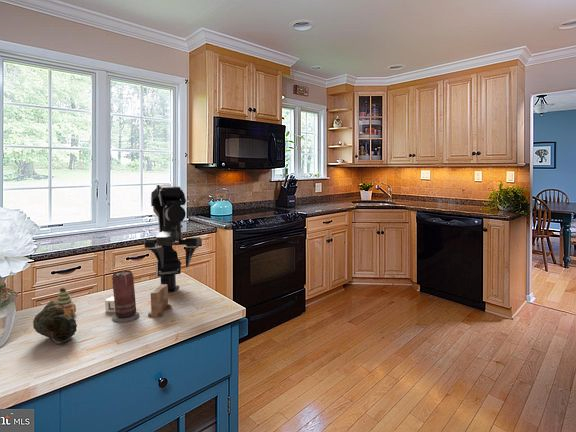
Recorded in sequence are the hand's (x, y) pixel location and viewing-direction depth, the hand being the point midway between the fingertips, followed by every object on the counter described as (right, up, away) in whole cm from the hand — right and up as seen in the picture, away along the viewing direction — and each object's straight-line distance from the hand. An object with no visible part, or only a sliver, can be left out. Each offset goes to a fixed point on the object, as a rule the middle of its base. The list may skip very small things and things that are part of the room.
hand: (174, 267), depth 128 cm
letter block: (-19, -14, -4) cm, 24 cm away
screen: (-3, -14, -5) cm, 15 cm away
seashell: (-24, -17, -26) cm, 40 cm away
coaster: (-12, -15, -10) cm, 22 cm away
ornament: (-33, -15, -11) cm, 37 cm away
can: (-12, -14, -10) cm, 21 cm away
